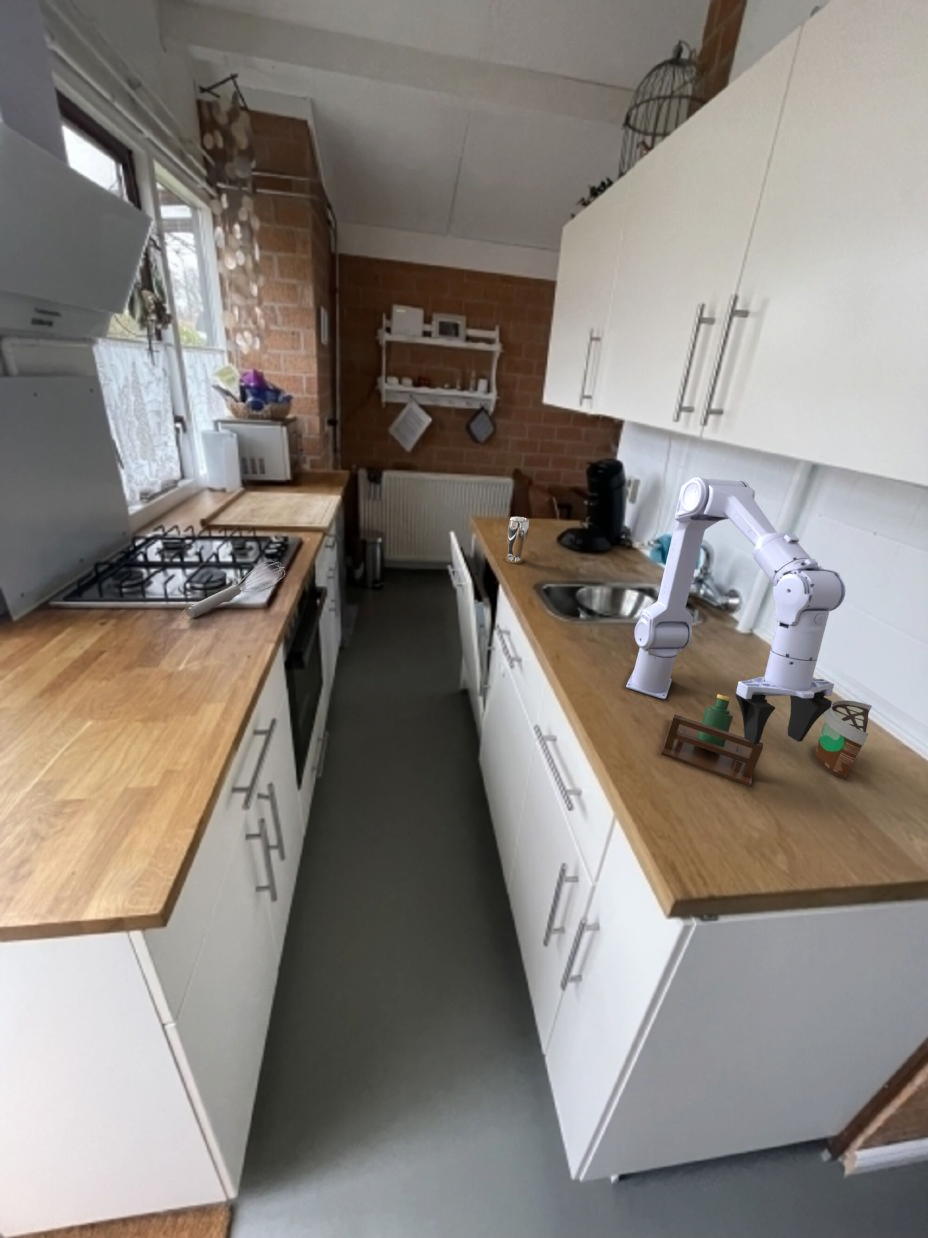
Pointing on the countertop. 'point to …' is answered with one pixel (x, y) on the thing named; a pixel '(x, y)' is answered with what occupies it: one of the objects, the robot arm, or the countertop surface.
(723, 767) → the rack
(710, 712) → the bottle
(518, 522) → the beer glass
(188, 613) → the kitchen whisk
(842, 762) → the food container
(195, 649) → the countertop surface
